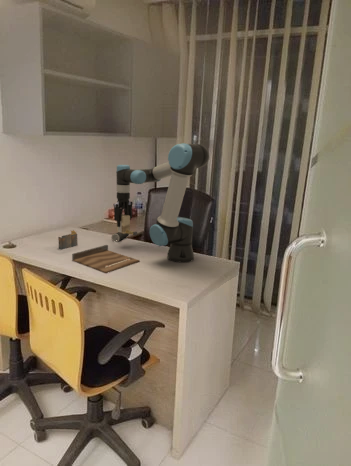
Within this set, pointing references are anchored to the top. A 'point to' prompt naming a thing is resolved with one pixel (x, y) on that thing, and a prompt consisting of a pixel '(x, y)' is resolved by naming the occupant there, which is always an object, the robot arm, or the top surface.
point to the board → (103, 259)
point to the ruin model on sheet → (68, 240)
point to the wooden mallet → (126, 225)
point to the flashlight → (119, 236)
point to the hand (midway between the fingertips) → (123, 231)
